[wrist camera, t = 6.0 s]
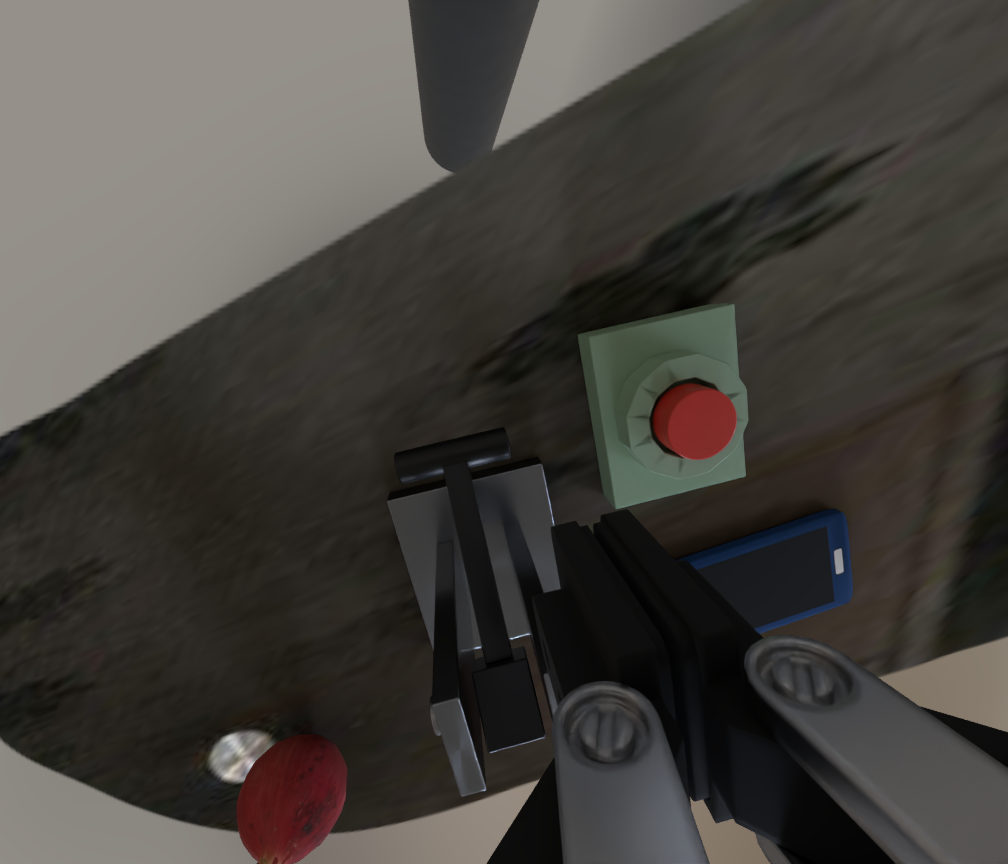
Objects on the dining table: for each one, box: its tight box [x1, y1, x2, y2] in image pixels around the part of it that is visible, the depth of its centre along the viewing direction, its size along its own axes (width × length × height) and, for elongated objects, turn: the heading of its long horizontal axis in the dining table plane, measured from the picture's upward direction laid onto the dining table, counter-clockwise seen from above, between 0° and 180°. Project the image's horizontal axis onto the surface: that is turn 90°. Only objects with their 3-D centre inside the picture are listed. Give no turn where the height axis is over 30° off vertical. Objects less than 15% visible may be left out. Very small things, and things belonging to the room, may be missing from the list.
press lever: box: [394, 427, 545, 753], centre depth 20 cm, size 12×5×2 cm
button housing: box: [578, 304, 748, 509], centre depth 26 cm, size 10×8×4 cm
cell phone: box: [675, 509, 853, 634], centre depth 32 cm, size 7×14×1 cm, turn 106°
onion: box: [237, 734, 347, 864], centre depth 27 cm, size 6×6×8 cm
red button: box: [653, 383, 737, 460], centre depth 24 cm, size 4×4×2 cm
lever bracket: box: [387, 457, 561, 796], centre depth 23 cm, size 11×9×13 cm
